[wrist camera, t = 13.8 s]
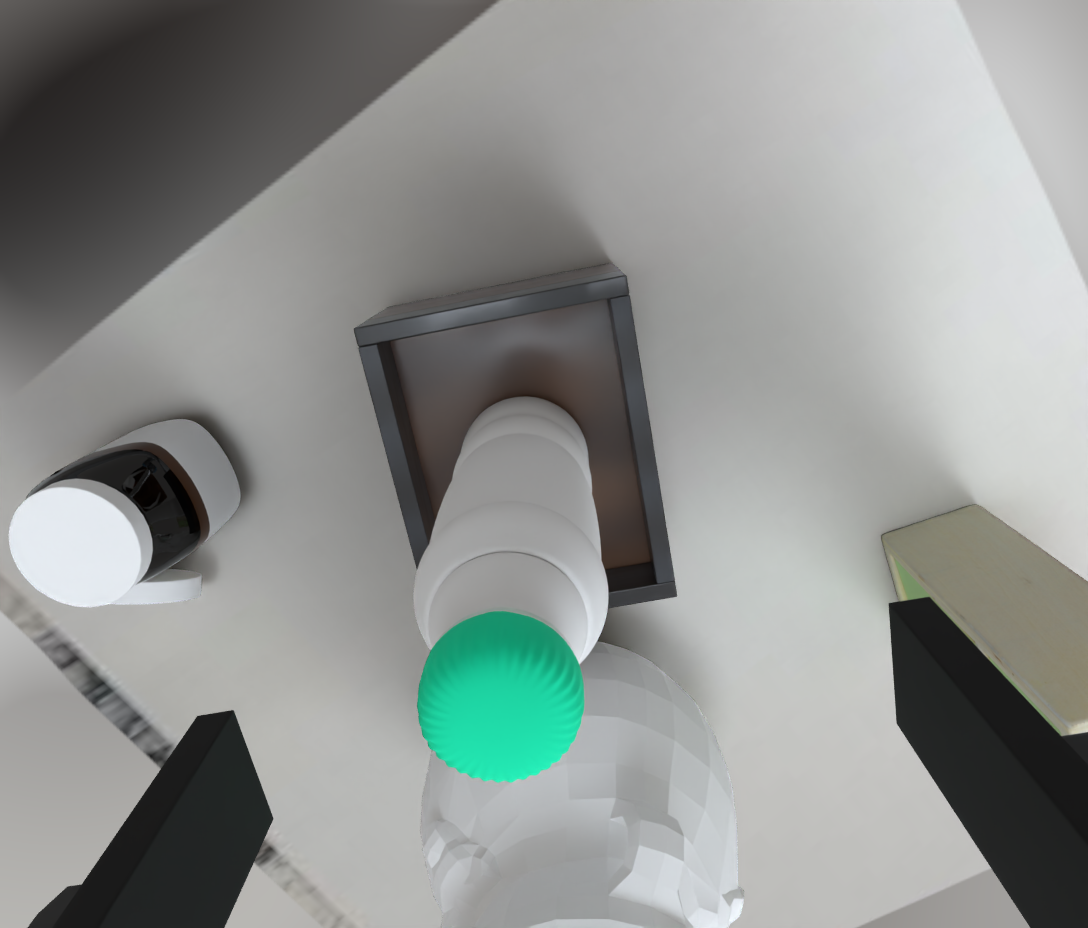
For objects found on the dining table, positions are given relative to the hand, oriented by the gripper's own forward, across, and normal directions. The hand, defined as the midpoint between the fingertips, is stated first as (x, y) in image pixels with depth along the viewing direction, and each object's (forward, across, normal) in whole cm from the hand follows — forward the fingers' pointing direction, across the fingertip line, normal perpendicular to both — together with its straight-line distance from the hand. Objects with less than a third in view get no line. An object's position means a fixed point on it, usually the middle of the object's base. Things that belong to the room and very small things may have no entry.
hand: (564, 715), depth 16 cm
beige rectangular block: (+36, +22, -19) cm, 46 cm away
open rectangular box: (+36, -3, -4) cm, 36 cm away
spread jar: (+36, -27, -5) cm, 45 cm away
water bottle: (+30, -2, -4) cm, 31 cm away
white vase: (+36, -4, -25) cm, 44 cm away
